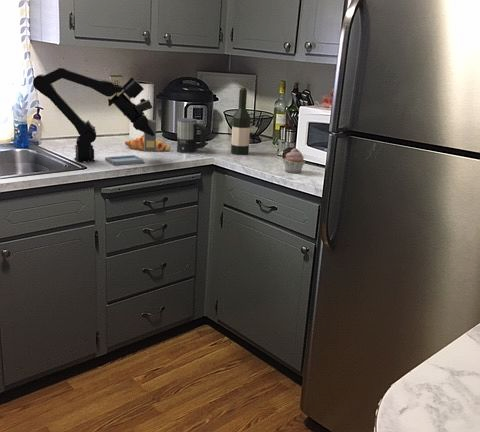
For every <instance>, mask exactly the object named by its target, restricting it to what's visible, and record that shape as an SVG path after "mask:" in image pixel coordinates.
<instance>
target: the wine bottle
mask: <svg viewBox="0 0 480 432" xmlns="http://www.w3.org/2000/svg"><path fill="white" fill-rule="evenodd" d="M238 94H239V95H238V108H237V110H236V111H235V112H234V114H233V116H232V122H231V123H232V125H231V127H232V128H231V144H230V153H231V155H236V156H246V155H249V148H250V136H251V135H250V134H251V121H252V120H251V119H252V117H250V114H249V112H248V110H247V99H248V98H247V95H248V89H247V87H240V89H239V93H238Z"/></svg>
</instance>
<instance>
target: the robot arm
mask: <svg viewBox="0 0 480 432" xmlns="http://www.w3.org/2000/svg"><path fill="white" fill-rule="evenodd" d="M61 79H63V80H67V81H69V82H72V83H75V84H78V85H80V86H81V85H82V86H84V87H87V88H90V89H92V90H93V91H96V92H97V93H99V94H101V95H103V96H105V97H108V98H107V102H108V103H107V104H108V105H107V106H108V107H111V106H112V105H114V106H115V107H116V108H117V109H118V110H119V112H121V113H122V115H123V116H125V117H126V119H128V120H129V121H130V123H131V124H132V127H133V128H134V129H135V130H136V131H140V132H143V134H144V133H147V134H149V135H151V136H154V135H155V134H154V132H153V131H152V130H151V128H150V127H149V125H148V118H147V115H146V114H145V111H148V110H151V109H153V105H152V103H151V101H150V99H145V98H141V99H140V100H139V101H140V102H138V103H137V104H136V103H134V102H132V101H131V100H130V99H135V98H137V97H138V96H139V95H140V94H141V93H142V92H143V91H144V90H145V89H144V87H143V86H142V85H141V84H140V83H139V82H138V81H136V80H135V78H134V77H132V76H130V77H129V79H128V80H127V81H126V82H125V83H124V84H123V85H121V84H114V82H113V81H111V80H107V79H99V78H93V77H90V76H87V75H84V74H81V73H79V72H76V71H74V70H70V69H67V68H66V67H62V66H61V67H57V69H55V70H52V71H50V72H48V73H47V74H38V75H36V76H35V77H34V78H33V79H32V86H33V87H34V89H35V90H36V91H38V92H39V94H42V95H43V96H45V97H46V98H47V99H49V100H50V101H51V103H53V105H54V106H55V107H57V108H58V109H59V111H60V112H61V114H63V116H64V117H66V119H67V120H68V121H69V122H70V123H71V124H72V126H74V128H75V130H76V132H77V133H78V135H79V136H77V137H76V142H75V143H76V144H75V145H74V146H75V147H74V149H75V157H74V158H73V160H75V161H77V162H79V163H85V162H86V163H87V162H95V148H94V145H92V143H94V142H95V141H96V139H97V131H96V126H94V125H92V123H91V122H90V120H89V119H88V120H87V121H85V120H83V119H82V118H81V117H80V115H78V113H76V111H75V110H74V109H73V108H72V107H71V106H70V105H69V104H68V102H67V101H66V100H65V99H64V98H63V97H62V96H61V95H60V94H59V92H58V91H57V89H56V88H55V86H54V83H55V82H57V81H59V80H61ZM117 93H118V95H117ZM110 97H111V98H110Z"/></svg>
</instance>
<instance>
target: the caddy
mask: <svg viewBox="0 0 480 432" xmlns="http://www.w3.org/2000/svg"><path fill="white" fill-rule="evenodd" d="M148 125H149V127H150V128H151V130H152V131H153V132H154V134H155V135H154V136H151V135H149V134H147V133H144V132H143V135H144V151H143V152H157V151H156V139H157V121H156V120H153V119H150V118H149V119H148Z"/></svg>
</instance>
